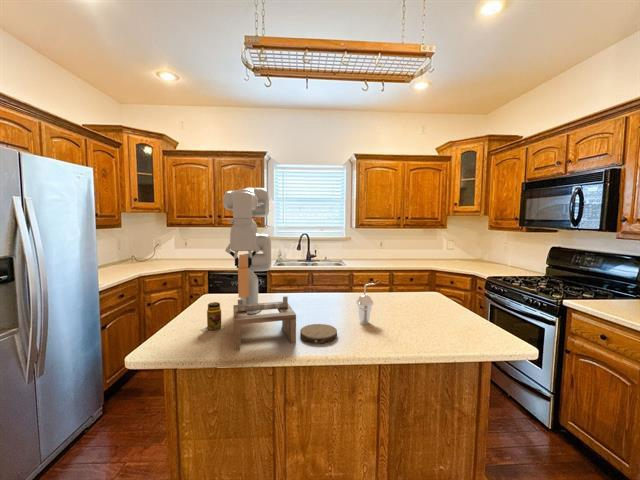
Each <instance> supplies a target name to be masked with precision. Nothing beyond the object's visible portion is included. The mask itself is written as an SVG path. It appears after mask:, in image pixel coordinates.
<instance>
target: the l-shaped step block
mask: <svg viewBox="0 0 640 480" xmlns="http://www.w3.org/2000/svg"><path fill="white" fill-rule="evenodd" d="M245 254H246V255H243V254H239V255H238V259H239V264H238V268H237V277H238V278H237V282H238V283H237V284H238V285H237V286H238V287H237V288H238V289H237V291H238V292H237V293H238V298H239V299H240V298H243V297H249V268H248V265H247V254H248V253H245Z"/></svg>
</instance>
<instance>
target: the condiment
mask: <svg viewBox="0 0 640 480" xmlns="http://www.w3.org/2000/svg"><path fill="white" fill-rule="evenodd" d="M206 318H207V319H206V321H207V323H206V324H207V326H206V327H204V328H202V329H200V331H204V332H208V333H215V334H216V333H217V332H220V331H221V330H223V329H224V328H225V326H222V309H221V303H220V302H218V301H217V302H216V301H214V302H210V303H208V304H207V310H206Z"/></svg>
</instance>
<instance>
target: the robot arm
mask: <svg viewBox="0 0 640 480" xmlns="http://www.w3.org/2000/svg"><path fill="white" fill-rule="evenodd" d="M269 198H270V197H269V192H268V191H267V189H266V188H264V187H244V188H243V189H238V190H227V191H226V192H225V193H224V194H223V197H222V205H223V207H224V209H226V210H227V211H232V219H229V220H228V221H229V224H232V226H231V227H230V232H229V233H230V234H229V244H228V245H227V246H226V248H225V250H224V251H225V253H228V254H229V255H230V256H232V257H233V258H234V267H236V269H238V266H239V255H238V253H239V252H248V253H243V254H242V255H246V254H247V265H248V268H249V297H243V298H239V299H242V300H243V305H244V304H257V303H259V278H258V276H257V274H255V272H265V271H267V272H268V271H269V270H271V268H272V239H271V237H270V235H269V234H266V233H258V224H257V223H256V221H255V220H254V219H253V218H264V217H267V216H268V215H269V212H270V199H269ZM259 252H262V253H259ZM260 312H262V310H257V311H247V315H256V314H258V313H260Z"/></svg>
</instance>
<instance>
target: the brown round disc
mask: <svg viewBox="0 0 640 480" xmlns="http://www.w3.org/2000/svg"><path fill="white" fill-rule="evenodd" d="M299 333H300V334H299V335H300V336H299V337H300V339H301V341H303V342H305V343H307V344H312V345H326V344H330V343H333V342H335V340H337V339H338V330H337V328H335V326H333V325H330V324H327V323H326V324H325V323H313V324H308V325H305V326H302V327H301V328H300V332H299Z"/></svg>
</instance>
